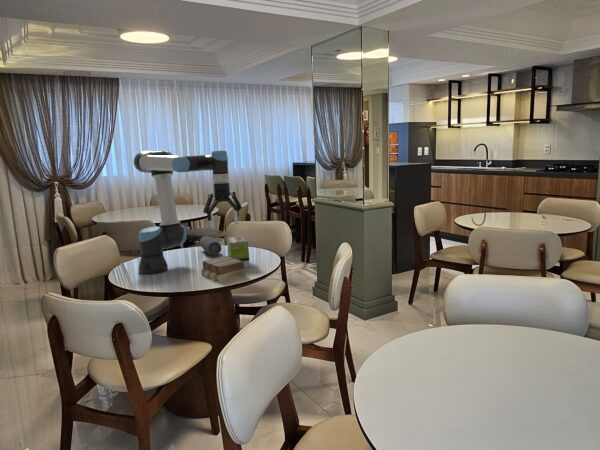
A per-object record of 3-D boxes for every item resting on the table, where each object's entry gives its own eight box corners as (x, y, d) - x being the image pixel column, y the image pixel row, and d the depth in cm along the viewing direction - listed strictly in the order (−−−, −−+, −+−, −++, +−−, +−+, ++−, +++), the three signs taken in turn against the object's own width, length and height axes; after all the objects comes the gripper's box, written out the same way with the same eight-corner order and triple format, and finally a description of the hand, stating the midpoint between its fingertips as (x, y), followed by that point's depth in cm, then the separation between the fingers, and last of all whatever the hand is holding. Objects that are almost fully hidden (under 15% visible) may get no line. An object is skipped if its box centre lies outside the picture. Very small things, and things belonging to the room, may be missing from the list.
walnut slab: (203, 268, 224) (202, 261, 223) (226, 263, 233) (226, 256, 232) (219, 274, 211) (219, 266, 211) (243, 269, 220) (243, 261, 219)
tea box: (227, 262, 248) (226, 237, 246) (245, 260, 251) (243, 235, 249) (231, 269, 234) (230, 242, 231) (250, 266, 237) (248, 240, 234)
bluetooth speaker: (223, 256, 264) (222, 240, 262) (208, 258, 260) (206, 241, 259) (213, 249, 284) (212, 234, 283) (199, 250, 280) (198, 235, 279)
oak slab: (201, 276, 225) (201, 268, 224) (226, 270, 234) (226, 262, 234) (219, 283, 211) (219, 275, 211) (245, 276, 221) (244, 269, 220)
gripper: (201, 184, 201) (204, 229, 205) (247, 181, 216) (249, 222, 220) (194, 184, 207) (197, 227, 211) (239, 180, 222) (241, 221, 226)
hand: (224, 225), depth 215 cm, fingers open, 13 cm apart
